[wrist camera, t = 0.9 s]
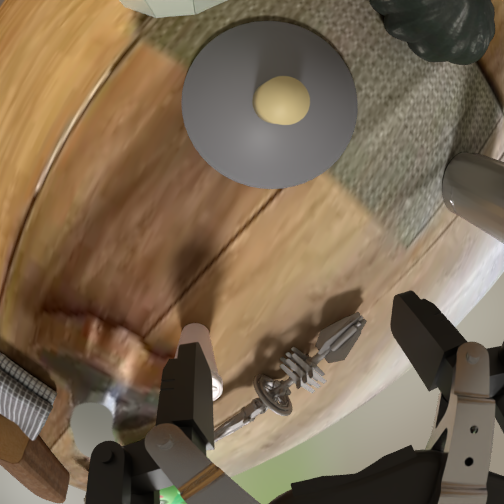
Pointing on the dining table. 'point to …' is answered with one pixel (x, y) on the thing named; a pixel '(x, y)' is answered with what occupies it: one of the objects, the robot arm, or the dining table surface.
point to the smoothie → (201, 335)
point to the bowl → (170, 6)
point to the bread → (32, 463)
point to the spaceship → (297, 373)
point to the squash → (440, 27)
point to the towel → (24, 398)
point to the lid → (269, 104)
